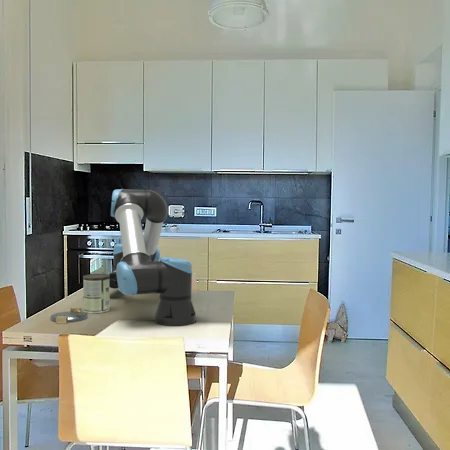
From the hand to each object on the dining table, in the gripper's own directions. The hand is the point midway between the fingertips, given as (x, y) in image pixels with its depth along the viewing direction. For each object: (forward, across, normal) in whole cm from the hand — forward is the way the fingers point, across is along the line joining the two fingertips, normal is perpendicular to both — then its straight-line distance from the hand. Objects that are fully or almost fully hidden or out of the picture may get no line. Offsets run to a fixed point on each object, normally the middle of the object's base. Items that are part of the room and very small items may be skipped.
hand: (103, 287), depth 196 cm
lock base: (+23, +6, -8) cm, 25 cm away
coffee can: (+10, 0, -8) cm, 12 cm away
